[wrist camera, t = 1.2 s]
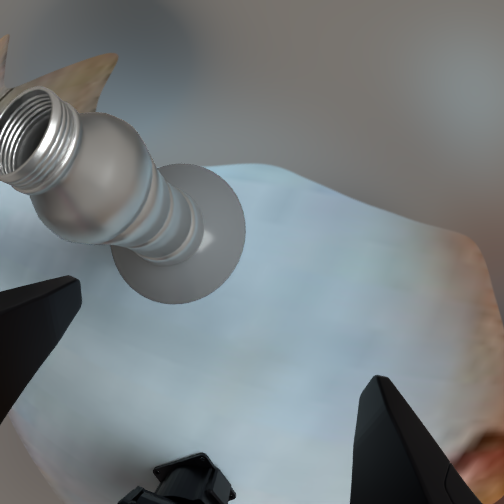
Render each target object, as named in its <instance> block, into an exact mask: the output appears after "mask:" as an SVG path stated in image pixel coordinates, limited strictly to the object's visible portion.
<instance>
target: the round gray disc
mask: <svg viewBox="0 0 504 504" xmlns="http://www.w3.org/2000/svg"><path fill="white" fill-rule="evenodd" d="M157 169H158V171H159V172H160V173H161V175H162V176H163V177H164V179H165V180H166V181H167V182H168V183H169V184H171V185H172V186H174V187H177V188H179V189H181V190H182V191H184V192H186V193H187V194H188V195H189V196H191V197H192V198H193V199H194V200H195V202H196V203H197V205H198V206H199V208H200V210H201V214H202V217H203V223H204V235H203V239H202V242H201V244H200V246H199V248H198V249H197V251H196V252H195V253H194V254H193V255H192V256H191V257H190V258H189V259H187V260H185V261H183V262H181V263H178V264H174V265H169V266H160V265H155V264H152V263H150V262H148V261H146V260H145V259H143V258H141V257H140V256H138V255H137V254H136V253H135V252H134V251H132V250H130V249H128V248H126V247H122V246H116V245H111V250H112V255H113V258H114V261H115V264H116V266H117V268H118V270H119V272H120V274H121V275H122V277H123V278H124V280H125V281H126V282H127V283H128V284H129V285H130V287H132V288H133V289H134V290H135V291H136V292H138V293H139V294H141V295H142V296H144V297H146V298H148V299H151V300H153V301H156V302H160V303H166V304H182V303H189V302H192V301H196V300H198V299H201V298H203V297H205V296H207V295H209V294H210V293H212V292H213V291H215V290H216V289H217V288H219V287H220V286H221V285H222V284H223V283H224V282H225V281H226V280H227V279H228V278H229V276H230V275H231V273H232V272H233V271H234V269H235V267H236V265H237V263H238V262H239V259H240V257H241V254H242V251H243V247H244V242H245V233H246V231H245V218H244V213H243V210H242V207H241V204H240V202H239V199H238V197H237V195H236V194H235V192H234V191H233V189H232V188H231V187H230V186H229V185H228V183H227V182H226V181H225V180H223V179H222V178H221V177H220V176H219V175H217V174H215V173H214V172H212V171H210V170H208V169H206V168H203V167H200V166H197V165H191V164H172V165H167V166H163V167H160V168H157Z"/></svg>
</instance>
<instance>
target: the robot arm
mask: <svg viewBox="0 0 504 504" xmlns="http://www.w3.org/2000/svg"><path fill="white" fill-rule="evenodd" d="M81 304H82V296H81V284H80V281H79V280H78V279H76V278H74V277H72V276H69V275H67V276H63V277H59V278H55V279H50V280H46V281H42V282H38V283H34V284H30V285H26V286H21V287H17V288H13V289H9V290H5V291H1V292H0V424H1V423H2V421H3V419H4V418H5V417H6V415H7V414H8V412H9V411H10V409H11V408H12V406H13V405H14V403H15V402H16V400H17V399H18V397H19V396H20V394H21V393H22V391H23V390H24V389H25V387H26V386H27V384H28V383H29V381H30V380H31V379H32V377H33V376H34V375H35V373H36V372H37V370H38V369H39V368H40V366H41V365H42V364H43V362H44V361H45V360H46V358H47V357H48V356H49V354H50V353H51V352H52V350H53V349H54V348H55V346H56V345H57V344H58V342H59V341H60V339H61V338H62V336H63V334H64V333H65V331H66V330H67V328H68V326H69V325H70V323H71V322H72V320H73V319H74V317H75V315H76V314H77V312H78V311H79V309H80V307H81ZM201 457H203V458H204V459H201ZM157 471H159V472H160V473H159V472H157ZM153 473H154V475H155V476H156V477H157V479H158V480H159V481H160V484H159V486H158V488H157V489H156V491H155V493H152V492H150V491H147V490H145V489H144V488H142V487H140V486H138V487H137V488H135V489H134V490H132V491H131V492H130V493H129V494H127V495H126V496H125V497H124V498H123V499H122V500H120V501H119V502H118V504H228V501H230V500H233V499H235V498H236V493H235V492H234V490H233V489H232V488H231V484H230V483H229V481H228V480H227V479H226V478H225V476H224V475H223V474H222V472H221V471H220V470H219V469H218V468H216V467H215V466H214V464H213V463H212V462H211V460H210V459H209V457H208V456H207V455H206V454H203V453H201V454H198V455H195V456H192V457H188V458H185V459H182V460H179V461H176V462H172V463H169V464H166V465H162V466H158V467H155V468H154V470H153ZM230 495H233V496H230ZM350 504H482V503H481V502H480V500H479V499H478V498H477V497H476V496H475V494H474V493H473V492H472V491H471V489H470V488H469V487H468V486H467V485H466V483H465V482H464V480H463V479H462V478H461V476H460V475H459V474H458V472H457V471H456V469H455V468H454V467H453V465H452V464H451V463H450V461H449V460H448V458H447V457H446V455H445V454H444V453H443V451H442V450H441V448H440V447H439V446H438V444H437V443H436V441H435V440H434V439H433V437H432V436H431V434H430V433H429V432H428V430H427V429H426V427H425V426H424V425H423V423H422V422H421V421H420V419H419V418H418V417H417V415H416V414H415V412H414V411H413V410H412V408H411V407H410V406H409V404H408V403H407V402H406V400H405V399H404V398H403V396H402V395H401V394H400V392H399V391H398V390H397V388H396V387H395V386H394V384H393V383H392V382H391V380H390V379H389V378H388V377H385V376H380V375H375V376H374V377H373V378H372V379H371V380H370V382H369V383H368V385H367V386H366V388H365V389H364V390H363V392H362V393H361V396H360V399H359V407H358V415H357V423H356V430H355V437H354V446H353V466H352V483H351V497H350Z"/></svg>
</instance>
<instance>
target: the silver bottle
mask: <svg viewBox="0 0 504 504" xmlns="http://www.w3.org/2000/svg"><path fill="white" fill-rule="evenodd" d="M0 181H2V182H5V183H7V184H9V185H11V186H12V187H13V188H14V189H15V190H17V191H19V192H21V193H24V194H27V195H30V199H31V201H32V204H33V206H34V208H35V211H36V213H37V215H38V217H39V218H40V220H41V221H42V222H43V223H44V224H45V225H46V226H47V227H48V228H49V229H50V230H51V231H52V232H53V233H54V234H56V235H57V236H59V237H60V238H61V239H64V240H66V241H69V242H73V243H80V244H88V245H116V246H122V247H126V248H128V249H130V250H132V251H134V252H135V253H136V254H137V255H138V256H140V257H141V258H143V259H145V260H146V261H148V262H150V263H152V264H155V265H160V266H169V265H174V264H178V263H181V262H183V261H185V260H187V259H189V258H190V257H191V256H192V255H193V254H194V253H195V252H196V251H197V249H198V248H199V246H200V244H201V242H202V239H203V235H204V223H203V217H202V214H201V210H200V208H199V206H198V205H197V203H196V202H195V200H194V199H193V198H192V197H191V196H189V195H188V194H187V193H186V192H184V191H182V190H181V189H179V188H177V187H174V186H172V185H171V184H169V183H168V182H167V181H166V180H165V179H164V177H163V176H162V175H161V173H160V172H159V171H158V169H157V167H156V165H155V163H154V161H153V159H152V157H151V155H150V153H149V151H148V149H147V147H146V145H145V143H144V141H143V140H142V138H141V137H140V135H139V134H138V132H137V131H136V130H135V129H134V128H133V127H132V126H131V125H130V124H128V123H127V122H125V121H124V120H121V119H119V118H117V117H115V116H112V115H109V114H106V113H99V112H91V113H80V114H79V113H78V112H77V110H76V109H75V108H74V107H73V106H71V105H70V104H69V103H68V102H65V101H62V100H61V99H60V98H59V97H58V96H57V95H56V94H55V93H54V92H53V91H52V90H50V89H48V88H47V87H43V86H35V87H32V88H29V89H27V90H25V91H23V92H22V93H20V94H19V95H17V96H16V97H15V98H14V99H13V100H12V101H11V102H10V103H9V104H8V105H7V106H6V107H5V109H4V110H3V111H2V113H1V114H0Z"/></svg>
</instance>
